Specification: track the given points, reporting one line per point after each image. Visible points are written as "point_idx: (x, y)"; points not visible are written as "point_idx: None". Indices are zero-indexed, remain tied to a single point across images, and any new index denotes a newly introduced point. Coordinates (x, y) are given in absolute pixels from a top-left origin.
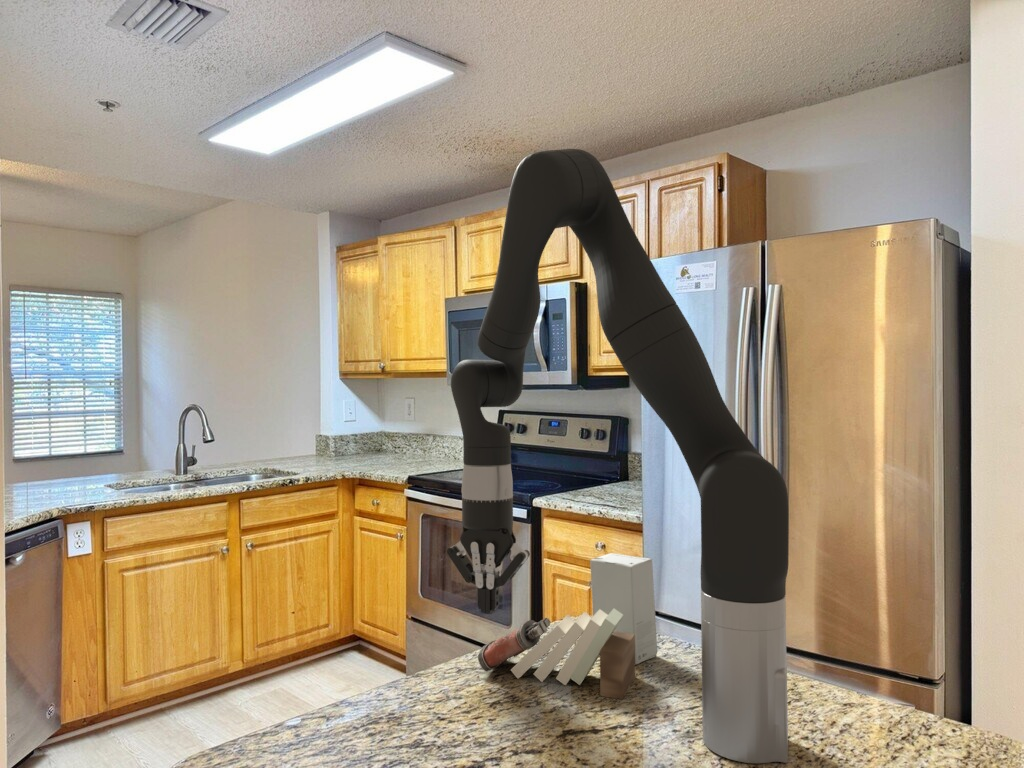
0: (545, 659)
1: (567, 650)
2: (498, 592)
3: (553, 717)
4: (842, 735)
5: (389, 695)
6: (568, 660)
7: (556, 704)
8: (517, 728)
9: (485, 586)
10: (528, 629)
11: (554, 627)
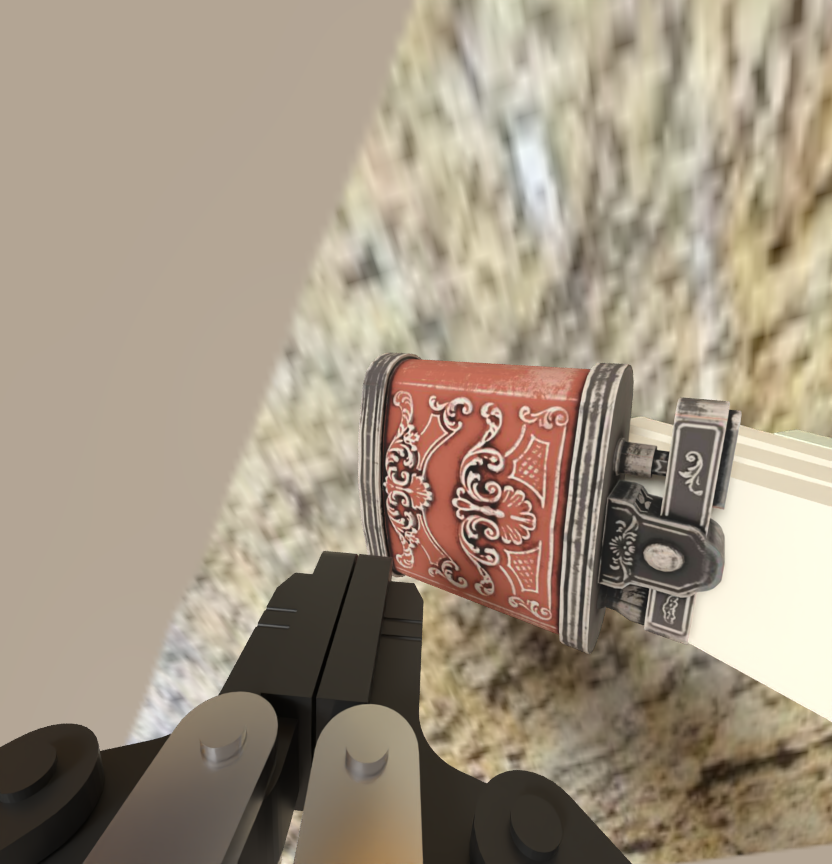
0: None
1: None
2: (419, 690)
3: (673, 722)
4: None
5: (204, 701)
6: None
7: (675, 659)
8: (588, 780)
9: (294, 803)
10: (620, 587)
11: (785, 568)
